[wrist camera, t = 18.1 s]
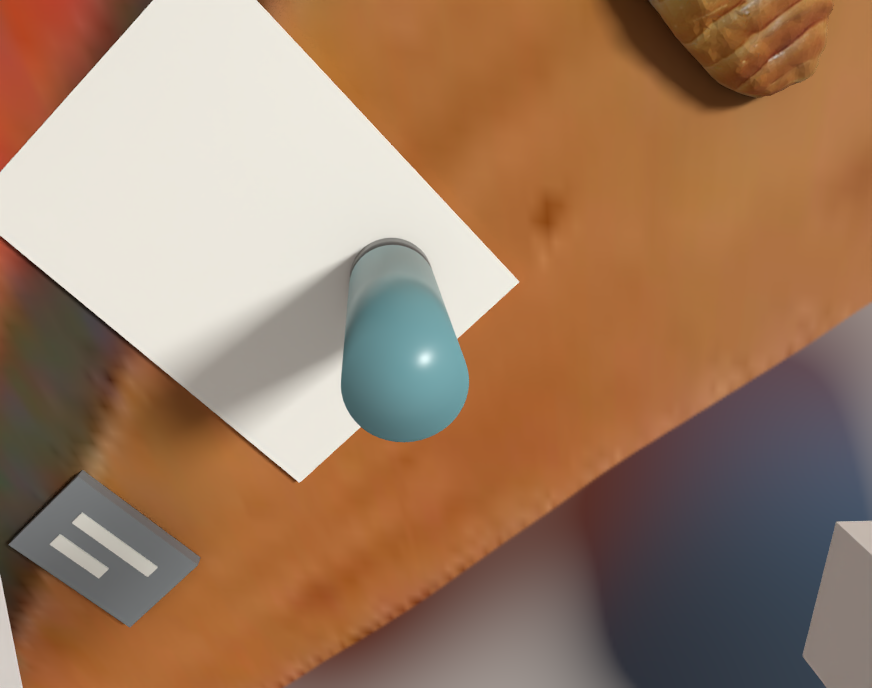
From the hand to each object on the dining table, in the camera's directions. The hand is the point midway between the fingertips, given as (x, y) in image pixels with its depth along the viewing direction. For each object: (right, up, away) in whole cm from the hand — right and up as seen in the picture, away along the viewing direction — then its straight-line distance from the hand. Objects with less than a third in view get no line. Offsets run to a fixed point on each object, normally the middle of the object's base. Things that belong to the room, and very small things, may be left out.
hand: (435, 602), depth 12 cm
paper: (-7, +8, +20) cm, 22 cm away
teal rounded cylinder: (-2, +7, +20) cm, 21 cm away
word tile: (-16, -6, +24) cm, 29 cm away
